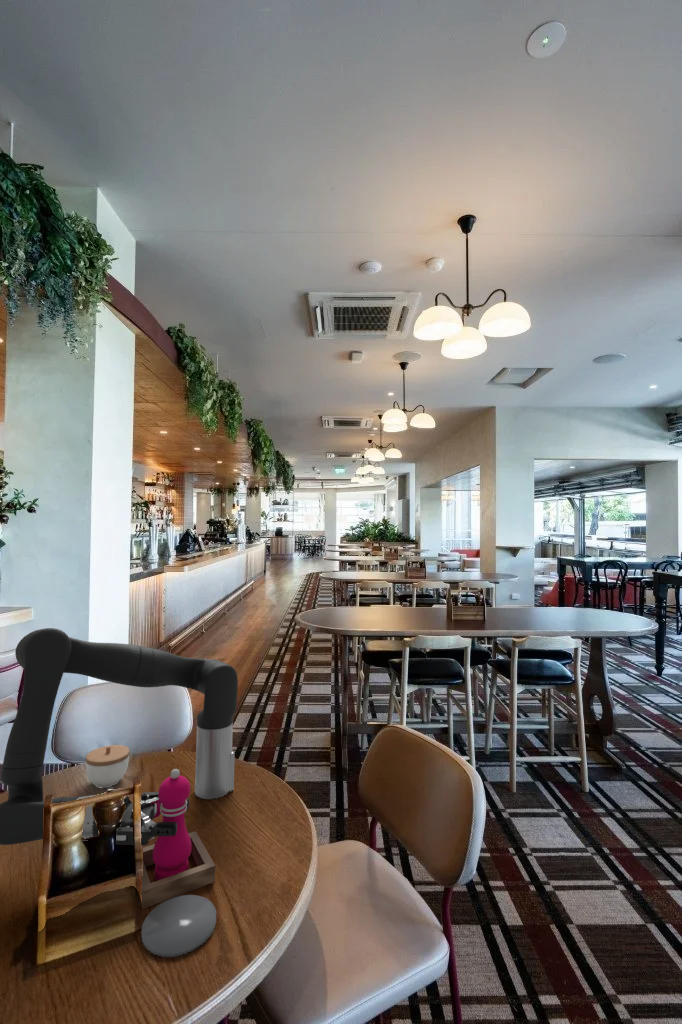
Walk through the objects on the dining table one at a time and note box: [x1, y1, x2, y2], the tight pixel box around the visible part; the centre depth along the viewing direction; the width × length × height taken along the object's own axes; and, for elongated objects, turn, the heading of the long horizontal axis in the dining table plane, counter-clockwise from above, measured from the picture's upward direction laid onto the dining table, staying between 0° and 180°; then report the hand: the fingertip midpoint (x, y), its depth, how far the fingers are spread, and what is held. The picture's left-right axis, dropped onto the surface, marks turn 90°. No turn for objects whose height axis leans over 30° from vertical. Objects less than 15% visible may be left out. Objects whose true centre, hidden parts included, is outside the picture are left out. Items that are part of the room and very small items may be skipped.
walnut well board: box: [141, 831, 216, 910], centre depth 94 cm, size 13×13×3 cm
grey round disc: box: [140, 894, 217, 958], centre depth 81 cm, size 12×12×1 cm
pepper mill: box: [153, 768, 192, 881], centre depth 95 cm, size 7×7×20 cm
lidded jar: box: [85, 744, 131, 789], centre depth 130 cm, size 11×11×9 cm
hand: (183, 816), depth 95 cm, fingers open, 8 cm apart
